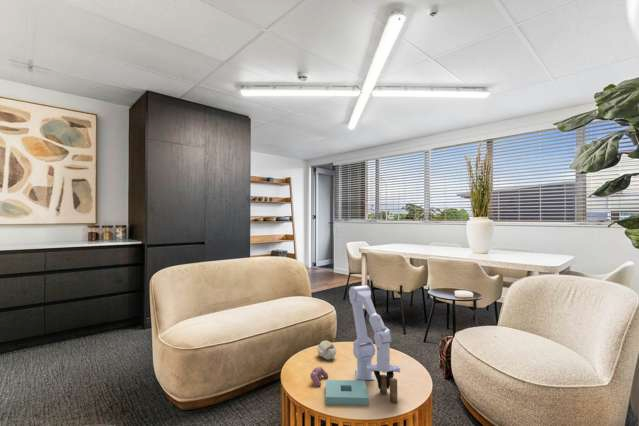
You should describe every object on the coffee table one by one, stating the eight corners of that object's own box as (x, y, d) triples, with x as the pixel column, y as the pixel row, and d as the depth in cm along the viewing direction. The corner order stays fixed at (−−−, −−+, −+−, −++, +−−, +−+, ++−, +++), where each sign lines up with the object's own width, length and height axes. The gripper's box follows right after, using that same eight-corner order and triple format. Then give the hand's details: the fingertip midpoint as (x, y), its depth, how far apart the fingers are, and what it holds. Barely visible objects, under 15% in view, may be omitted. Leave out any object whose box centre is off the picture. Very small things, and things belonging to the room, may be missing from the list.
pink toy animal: (322, 379, 149) (316, 365, 150) (329, 376, 147) (323, 362, 149) (313, 389, 140) (307, 374, 141) (321, 386, 138) (314, 371, 140)
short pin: (379, 390, 136) (379, 374, 136) (386, 390, 136) (386, 374, 136) (380, 394, 133) (380, 378, 133) (387, 394, 133) (387, 378, 133)
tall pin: (389, 399, 129) (388, 377, 129) (396, 399, 129) (396, 378, 129) (390, 403, 126) (390, 381, 126) (398, 403, 125) (398, 381, 126)
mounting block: (326, 386, 139) (326, 379, 139) (364, 387, 138) (364, 380, 139) (325, 404, 125) (325, 396, 125) (368, 405, 124) (368, 397, 125)
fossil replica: (330, 363, 162) (339, 358, 171) (332, 348, 163) (341, 343, 171) (312, 356, 169) (321, 352, 177) (314, 341, 170) (323, 337, 178)
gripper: (368, 360, 131) (368, 392, 131) (401, 361, 131) (401, 393, 130) (366, 353, 138) (366, 383, 138) (397, 354, 138) (398, 384, 137)
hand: (383, 387), depth 134 cm, fingers closed on short pin, 3 cm apart
